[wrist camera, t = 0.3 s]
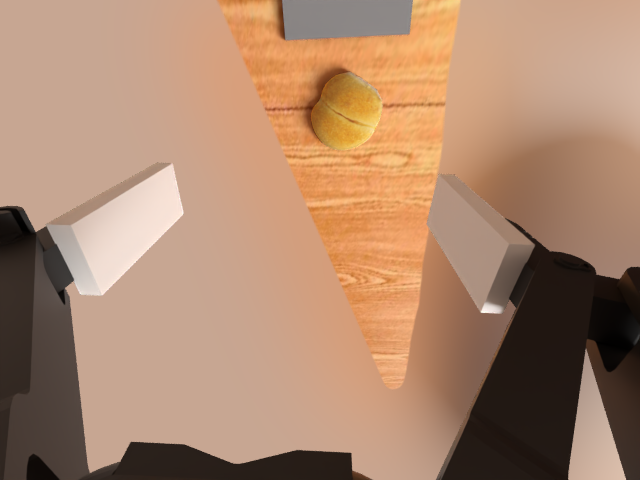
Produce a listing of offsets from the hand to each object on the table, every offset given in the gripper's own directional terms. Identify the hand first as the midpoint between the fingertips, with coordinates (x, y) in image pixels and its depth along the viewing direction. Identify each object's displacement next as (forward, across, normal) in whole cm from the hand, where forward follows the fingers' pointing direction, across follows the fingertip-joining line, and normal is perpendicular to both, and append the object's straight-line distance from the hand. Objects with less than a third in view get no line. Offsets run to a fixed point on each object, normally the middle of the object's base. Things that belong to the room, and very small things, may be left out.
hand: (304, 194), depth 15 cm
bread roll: (+28, +3, +1) cm, 28 cm away
